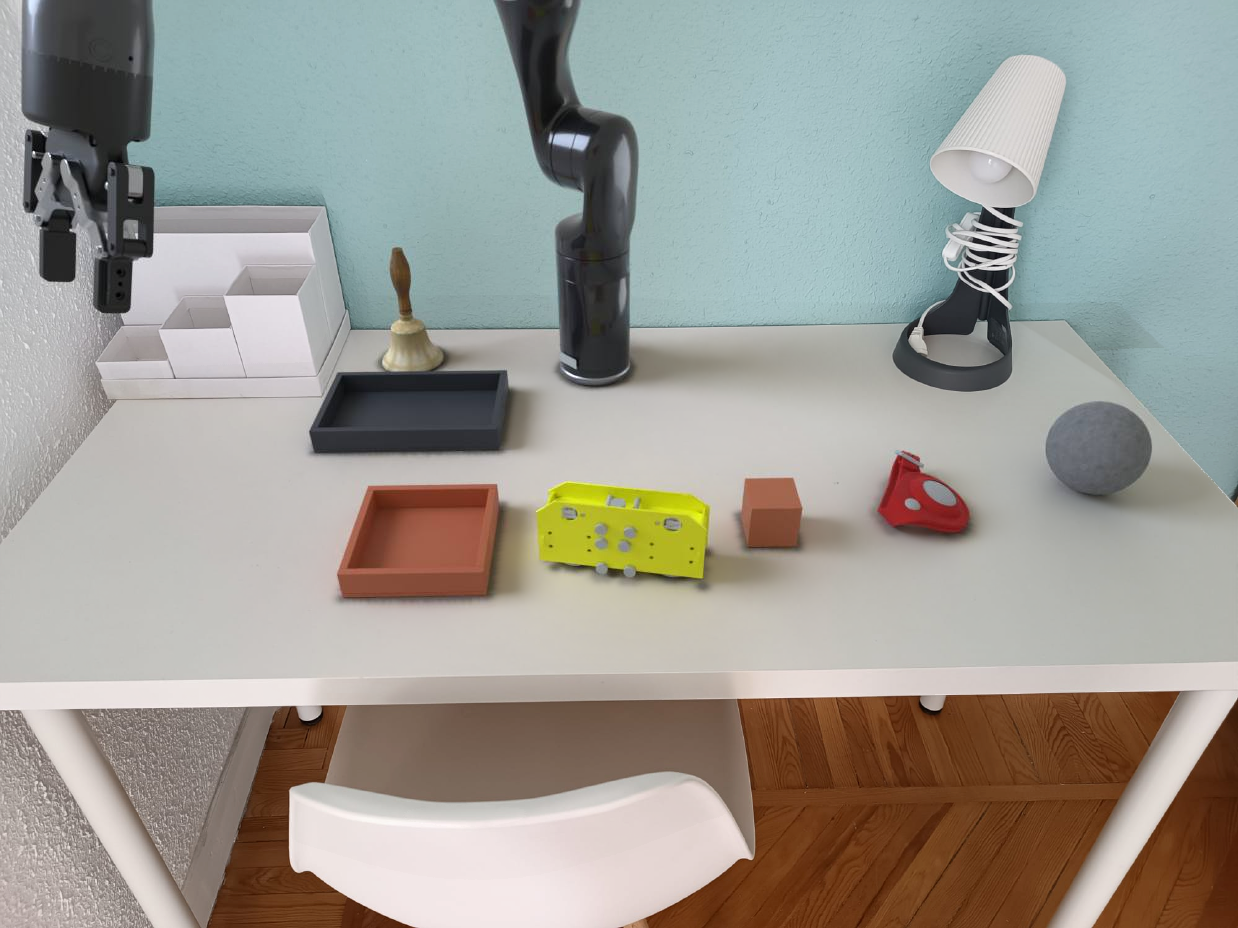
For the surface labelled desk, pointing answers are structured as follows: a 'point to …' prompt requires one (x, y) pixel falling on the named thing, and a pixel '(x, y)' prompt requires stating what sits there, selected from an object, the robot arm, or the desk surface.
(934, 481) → the tracker holder
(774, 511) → the terracotta block
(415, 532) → the terracotta tray
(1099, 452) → the decorative ball
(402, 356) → the hand bell
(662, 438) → the desk surface
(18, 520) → the desk surface
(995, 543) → the desk surface
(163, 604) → the desk surface
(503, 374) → the charcoal tray
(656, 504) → the yellow toy chassis
